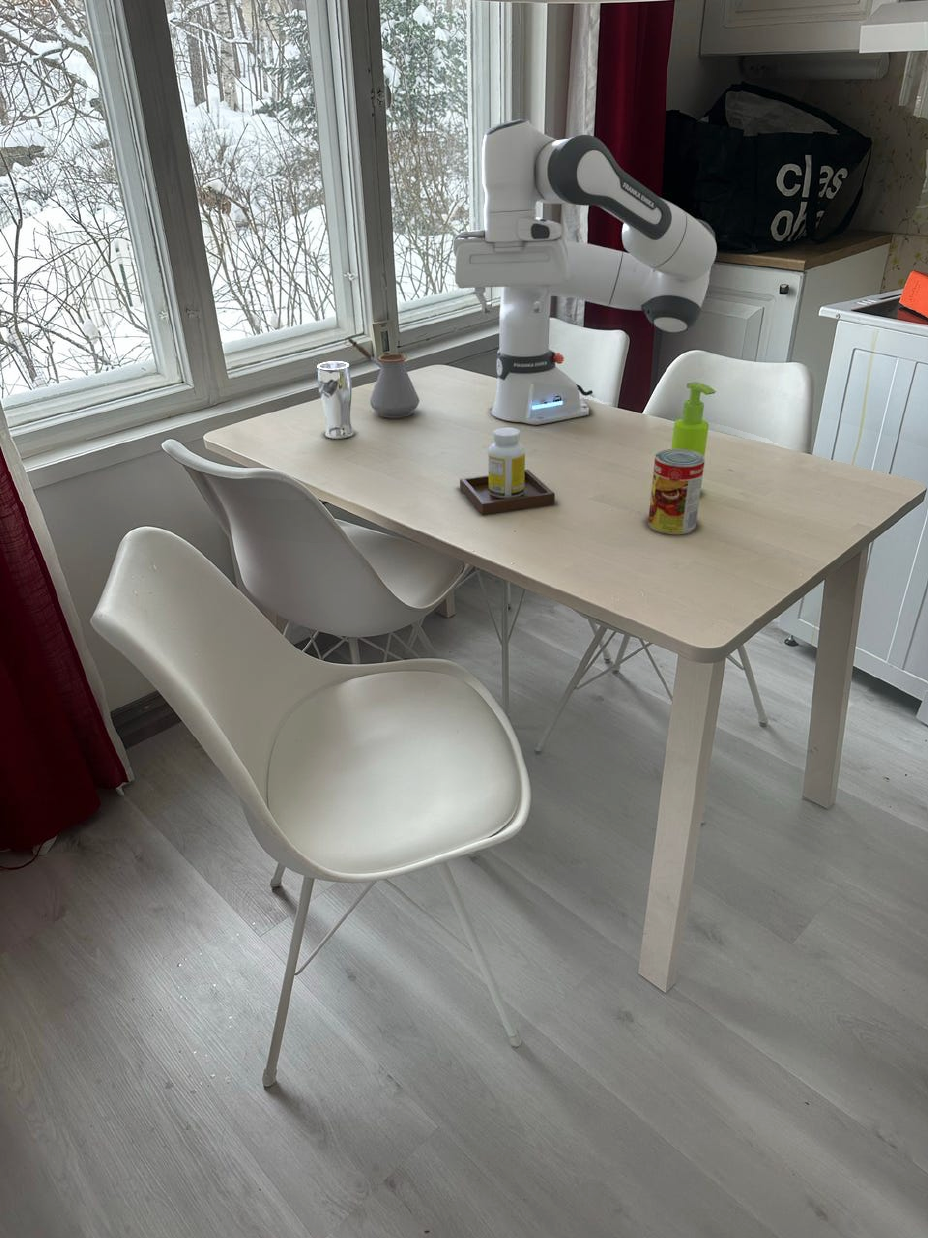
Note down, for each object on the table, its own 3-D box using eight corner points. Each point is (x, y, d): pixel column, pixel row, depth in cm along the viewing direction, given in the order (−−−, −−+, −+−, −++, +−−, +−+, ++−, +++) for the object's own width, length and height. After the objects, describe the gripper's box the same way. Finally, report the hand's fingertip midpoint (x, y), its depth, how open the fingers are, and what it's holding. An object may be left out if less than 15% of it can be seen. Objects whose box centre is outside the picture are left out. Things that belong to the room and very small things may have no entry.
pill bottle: (527, 488, 158) (529, 427, 152) (519, 502, 153) (520, 438, 147) (494, 485, 160) (494, 424, 154) (484, 498, 154) (483, 435, 149)
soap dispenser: (684, 503, 153) (698, 391, 142) (659, 490, 158) (671, 381, 148) (709, 497, 155) (725, 386, 145) (684, 484, 160) (698, 377, 150)
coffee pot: (430, 412, 200) (427, 346, 193) (393, 423, 193) (389, 356, 186) (369, 394, 213) (365, 332, 205) (333, 405, 206) (327, 341, 198)
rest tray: (527, 479, 163) (528, 469, 162) (554, 504, 153) (554, 493, 152) (460, 489, 160) (459, 478, 159) (482, 515, 150) (482, 503, 148)
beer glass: (353, 439, 184) (347, 369, 177) (320, 439, 185) (313, 369, 177) (357, 429, 190) (351, 360, 183) (326, 429, 191) (319, 361, 183)
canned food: (657, 511, 150) (664, 445, 144) (701, 520, 146) (710, 453, 140) (641, 528, 144) (648, 460, 138) (687, 538, 140) (696, 468, 134)
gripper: (447, 233, 148) (452, 317, 154) (565, 227, 142) (565, 314, 149) (457, 230, 153) (461, 311, 160) (571, 224, 148) (571, 309, 154)
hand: (512, 313), depth 154 cm, fingers open, 8 cm apart
